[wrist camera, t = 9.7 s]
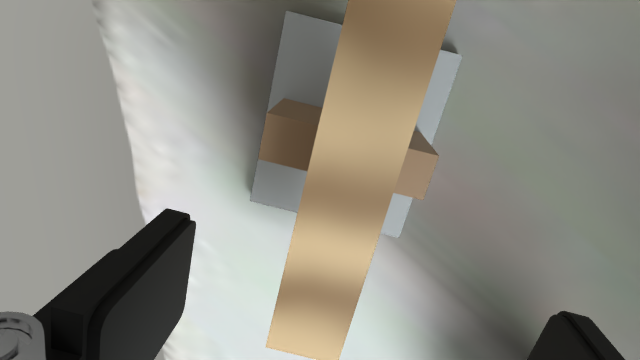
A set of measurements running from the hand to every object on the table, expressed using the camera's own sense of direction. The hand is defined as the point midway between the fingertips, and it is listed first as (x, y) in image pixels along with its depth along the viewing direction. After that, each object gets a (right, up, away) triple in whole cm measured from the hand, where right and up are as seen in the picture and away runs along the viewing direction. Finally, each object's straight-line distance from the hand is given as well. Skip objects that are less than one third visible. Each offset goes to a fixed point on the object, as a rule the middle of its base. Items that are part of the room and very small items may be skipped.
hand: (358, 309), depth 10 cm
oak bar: (+1, +5, +12) cm, 13 cm away
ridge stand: (+1, +7, +19) cm, 20 cm away
